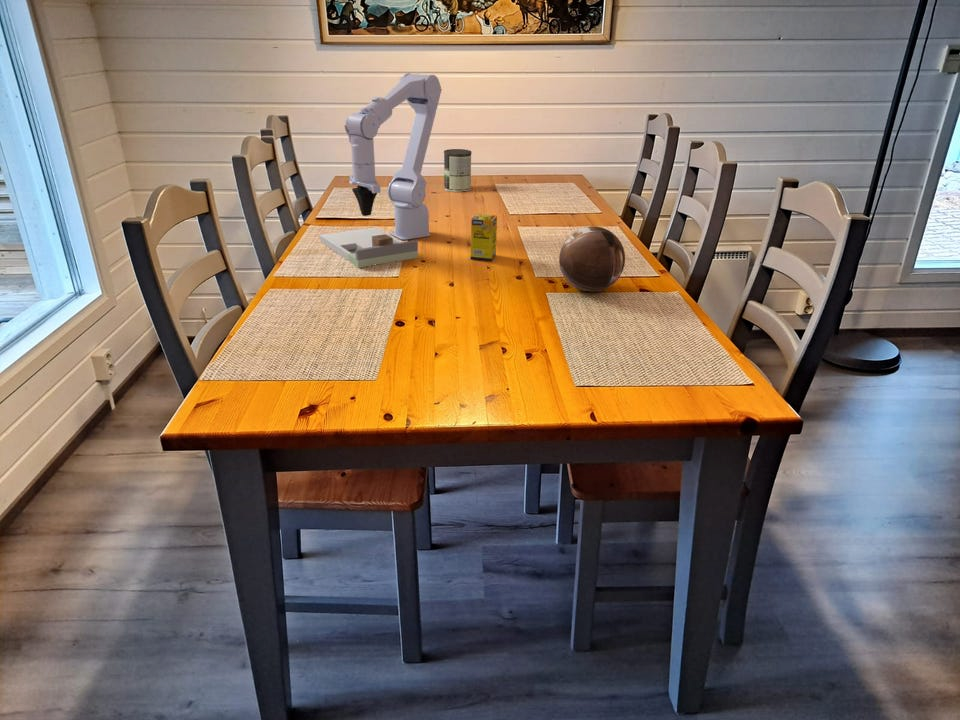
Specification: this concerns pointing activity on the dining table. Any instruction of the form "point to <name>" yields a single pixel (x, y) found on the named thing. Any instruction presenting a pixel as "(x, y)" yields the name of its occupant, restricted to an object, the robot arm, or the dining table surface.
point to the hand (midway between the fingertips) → (366, 215)
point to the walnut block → (381, 240)
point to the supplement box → (483, 237)
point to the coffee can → (457, 170)
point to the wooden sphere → (592, 259)
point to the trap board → (369, 247)
